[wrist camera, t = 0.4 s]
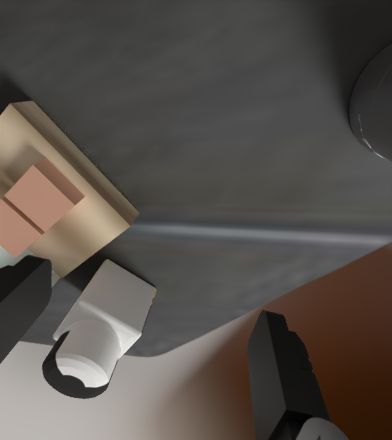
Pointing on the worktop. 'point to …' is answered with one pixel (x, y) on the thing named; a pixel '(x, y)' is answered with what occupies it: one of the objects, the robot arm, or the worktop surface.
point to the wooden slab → (76, 173)
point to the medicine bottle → (98, 332)
